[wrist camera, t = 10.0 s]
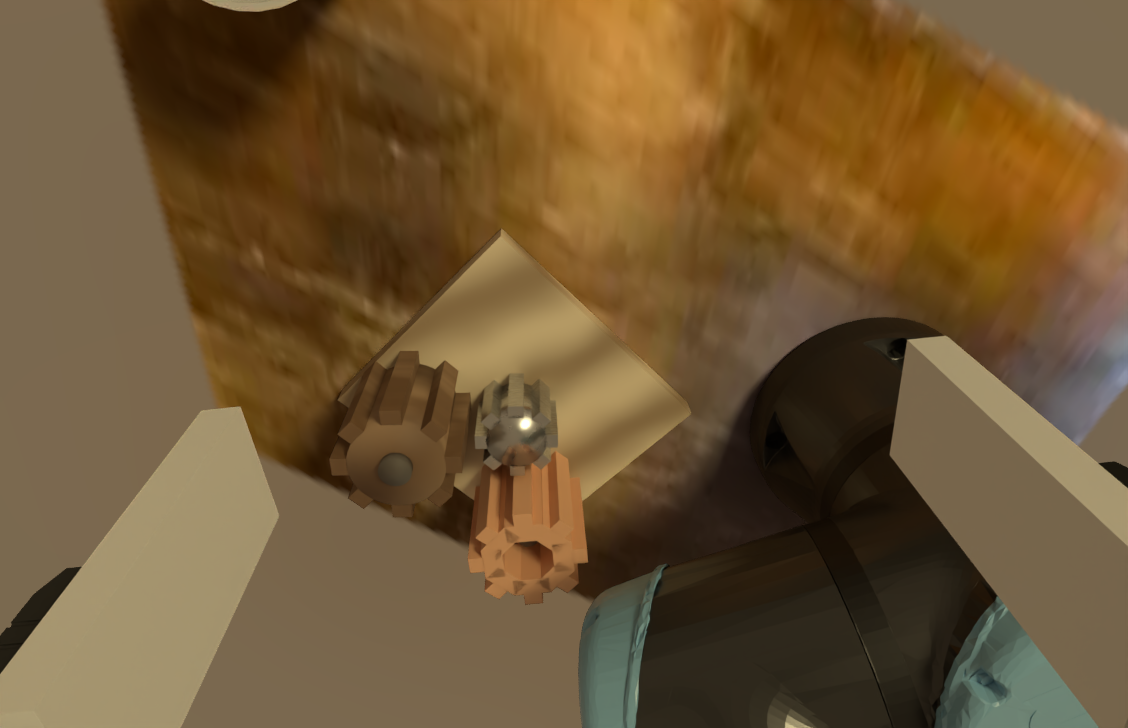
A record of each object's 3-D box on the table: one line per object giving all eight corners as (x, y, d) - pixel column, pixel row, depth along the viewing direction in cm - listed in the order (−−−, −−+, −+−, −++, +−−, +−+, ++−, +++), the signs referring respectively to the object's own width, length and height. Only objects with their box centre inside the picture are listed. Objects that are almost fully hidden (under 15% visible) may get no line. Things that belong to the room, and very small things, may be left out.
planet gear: (576, 440, 47) (583, 508, 41) (583, 523, 50) (591, 598, 44) (469, 450, 47) (460, 520, 41) (483, 533, 50) (477, 609, 44)
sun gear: (571, 406, 46) (575, 440, 42) (518, 451, 47) (517, 488, 44) (516, 358, 44) (515, 391, 41) (463, 407, 46) (457, 442, 42)
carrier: (686, 401, 48) (708, 457, 42) (531, 528, 52) (531, 594, 47) (501, 228, 42) (496, 266, 36) (343, 388, 46) (316, 444, 41)
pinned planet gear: (494, 399, 45) (487, 470, 39) (421, 465, 48) (403, 544, 41) (407, 329, 43) (384, 391, 36) (334, 402, 45) (300, 474, 38)
